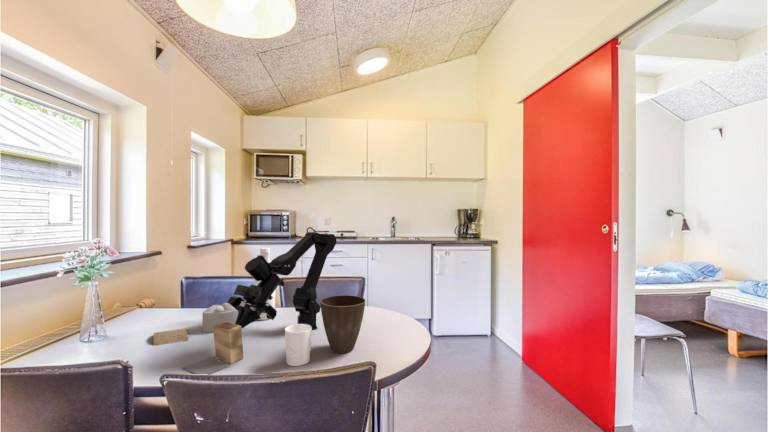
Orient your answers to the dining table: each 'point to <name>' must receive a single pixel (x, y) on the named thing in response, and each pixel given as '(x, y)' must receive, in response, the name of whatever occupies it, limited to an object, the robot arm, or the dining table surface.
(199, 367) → the felt mat
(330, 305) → the plant pot
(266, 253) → the alcohol
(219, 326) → the oak block
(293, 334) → the white cup
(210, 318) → the lumpy-topped squat cylinder
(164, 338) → the clay tablet
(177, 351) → the dining table surface
